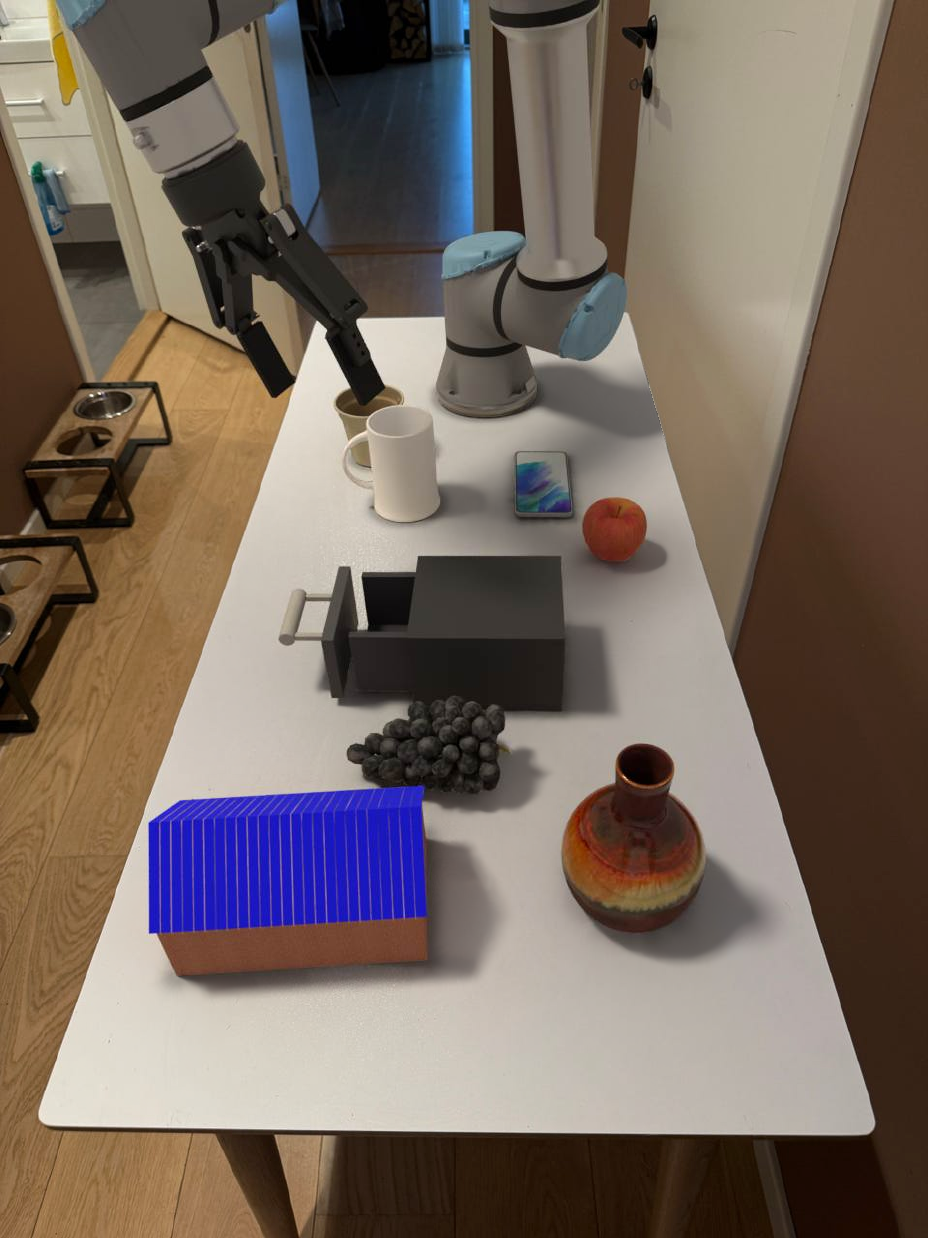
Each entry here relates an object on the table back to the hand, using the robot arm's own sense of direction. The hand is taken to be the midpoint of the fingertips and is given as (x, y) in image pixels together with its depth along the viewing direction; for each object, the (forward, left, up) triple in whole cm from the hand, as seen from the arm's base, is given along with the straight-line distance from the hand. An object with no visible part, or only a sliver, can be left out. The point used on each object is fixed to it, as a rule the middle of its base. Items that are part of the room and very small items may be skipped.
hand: (325, 393), depth 84 cm
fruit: (+21, +10, -28) cm, 36 cm away
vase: (+33, +27, -27) cm, 51 cm away
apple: (-12, +29, -28) cm, 41 cm away
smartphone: (-27, +21, -27) cm, 43 cm away
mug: (-23, +2, -27) cm, 36 cm away
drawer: (+7, +3, -26) cm, 28 cm away
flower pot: (-35, -2, -28) cm, 45 cm away
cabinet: (+7, +15, -27) cm, 32 cm away
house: (+35, +1, -27) cm, 45 cm away
